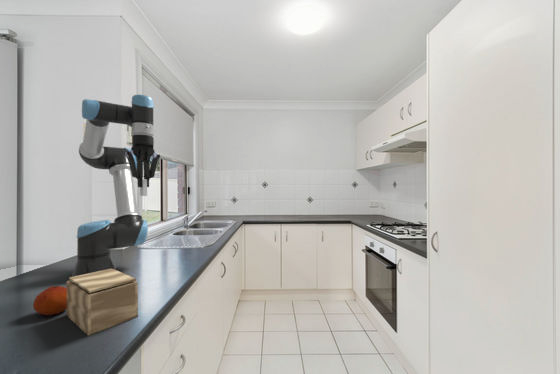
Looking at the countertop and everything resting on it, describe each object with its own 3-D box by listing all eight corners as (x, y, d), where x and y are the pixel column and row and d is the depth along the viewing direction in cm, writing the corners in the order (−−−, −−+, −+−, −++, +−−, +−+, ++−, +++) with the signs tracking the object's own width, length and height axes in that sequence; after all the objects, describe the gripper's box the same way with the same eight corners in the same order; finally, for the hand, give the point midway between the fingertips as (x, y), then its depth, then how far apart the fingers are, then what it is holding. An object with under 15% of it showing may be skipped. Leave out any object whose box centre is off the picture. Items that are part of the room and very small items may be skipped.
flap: (69, 279, 77) (69, 277, 77) (111, 270, 86) (111, 268, 86) (89, 292, 66) (89, 290, 66) (135, 280, 75) (135, 278, 75)
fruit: (80, 307, 82) (80, 281, 82) (49, 321, 73) (49, 292, 73) (58, 305, 84) (58, 280, 84) (26, 318, 75) (25, 290, 75)
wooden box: (66, 315, 76) (66, 281, 77) (112, 301, 86) (112, 270, 86) (88, 335, 66) (87, 295, 66) (137, 316, 75) (137, 281, 75)
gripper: (129, 131, 95) (130, 196, 95) (163, 137, 105) (164, 195, 105) (120, 134, 100) (121, 196, 99) (154, 139, 110) (155, 195, 110)
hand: (143, 195), depth 102 cm, fingers closed
